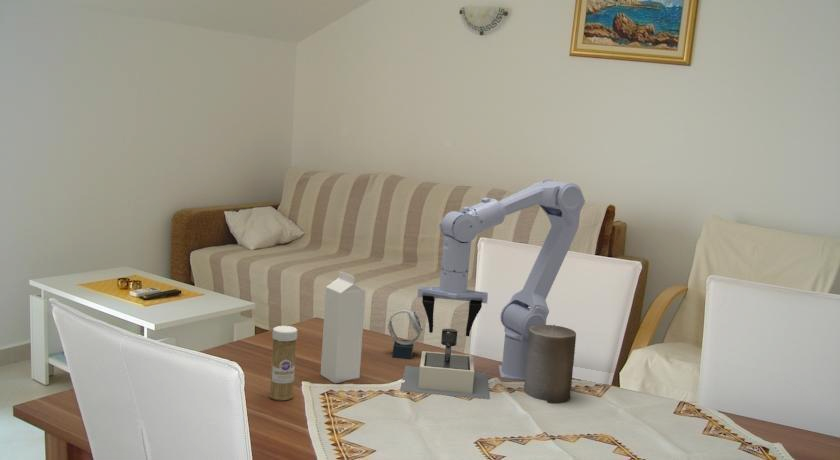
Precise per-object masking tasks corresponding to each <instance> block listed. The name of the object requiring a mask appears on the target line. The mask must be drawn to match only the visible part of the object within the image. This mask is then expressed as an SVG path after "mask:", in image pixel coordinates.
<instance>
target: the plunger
mask: <svg viewBox="0 0 840 460" xmlns="http://www.w3.org/2000/svg"><path fill="white" fill-rule="evenodd" d="M457 340H458V330H457V329H453V328H442V330H441V340H440V341H441V342H440V344H441V345H442V346H445V349H444V350H445V352H444V353H445V355H443V354H432V353H427V361H426V366H430V367H441V368H452V369H463V370H468V358H467V357H466V356H455V355H451V354H452V347H455V346H457V342H458V341H457Z"/></svg>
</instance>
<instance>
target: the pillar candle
mask: <svg viewBox="0 0 840 460" xmlns="http://www.w3.org/2000/svg"><path fill="white" fill-rule="evenodd" d="M576 340H577V333H576V331H574V330H573V329H570V328H568V327H565V326H561V325H555V324H546V325H534V326H531V327H530V328H529V338H528V350H527V361H526V372H525V380H524V387H523V392H524V393H525V394H526V395H528V396H529V397H532V398H534V399H537V400H540V401H541V400H542V401H546V402H547V403H562V402H567V401H569V400H570V399H571V391H572V389H571V388H572V383H573V371H574V362H575V351H576V342H577V341H576Z"/></svg>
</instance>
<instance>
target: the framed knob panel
mask: <svg viewBox="0 0 840 460" xmlns="http://www.w3.org/2000/svg"><path fill="white" fill-rule="evenodd" d="M427 353H432V354H443V355H445V352H440V351H439V352H438V351H425V350H421V358H420V364H419V367H420V371H419V383H418V388H421V389H432V390H443V391H454V392H465V393H472V391H473V380H474V372H475V365H474V356H473V355H471V354H462V353H461V354H460V353H451V355H455V356H466V357H467V358H468V370H463V369H452V368H441V367H430V366H426V361H427Z"/></svg>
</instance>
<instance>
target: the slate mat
mask: <svg viewBox="0 0 840 460" xmlns="http://www.w3.org/2000/svg"><path fill="white" fill-rule="evenodd" d="M419 371H420V366H411V365H405V366H404V370H403V374H402V375H403V376H402V380H405V382H404V383H402V382H401V385H400V389H399V392H405V393H416V394H418V393H419V394H428V395H437V396H438V395H439V396H447V397H448V396H450V397H459V398H470V399H481V400H483V399H484V400H491V395H490V387H489V381H488V374H487V372H477V371H476V372H475V371H474V380H473V391H472V393H465V392H454V391H443V390H432V389H421V388H418V383H419ZM402 380H401V381H402Z"/></svg>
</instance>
